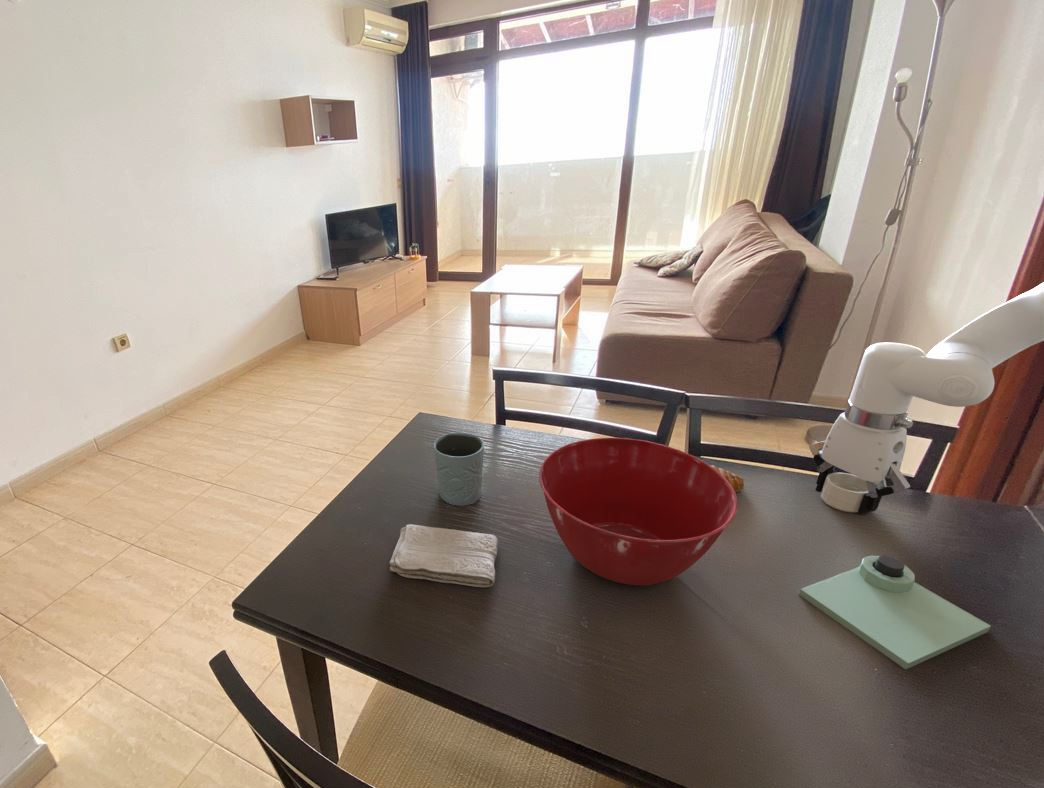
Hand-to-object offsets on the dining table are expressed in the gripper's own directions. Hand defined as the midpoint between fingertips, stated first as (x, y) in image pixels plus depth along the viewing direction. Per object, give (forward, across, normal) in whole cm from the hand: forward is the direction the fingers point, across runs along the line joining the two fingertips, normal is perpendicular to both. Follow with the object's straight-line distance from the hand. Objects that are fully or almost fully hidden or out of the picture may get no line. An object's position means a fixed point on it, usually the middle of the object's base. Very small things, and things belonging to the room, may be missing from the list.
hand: (843, 499), depth 99 cm
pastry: (+1, +14, +16) cm, 21 cm away
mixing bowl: (+1, +4, +46) cm, 46 cm away
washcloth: (+1, +15, +74) cm, 76 cm away
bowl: (+1, 0, 0) cm, 1 cm away
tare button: (-2, -16, +15) cm, 22 cm away
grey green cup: (+1, +32, +63) cm, 71 cm away
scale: (+1, -20, +20) cm, 28 cm away
